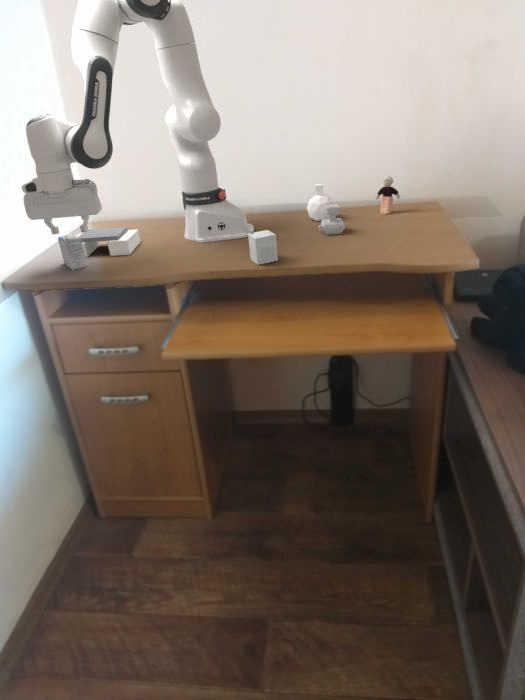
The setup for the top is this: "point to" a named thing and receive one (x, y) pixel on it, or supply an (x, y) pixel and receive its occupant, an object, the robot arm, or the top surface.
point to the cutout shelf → (110, 240)
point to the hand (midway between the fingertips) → (70, 232)
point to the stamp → (332, 221)
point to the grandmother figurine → (387, 195)
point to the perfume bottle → (319, 204)
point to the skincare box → (263, 247)
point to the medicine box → (72, 251)
